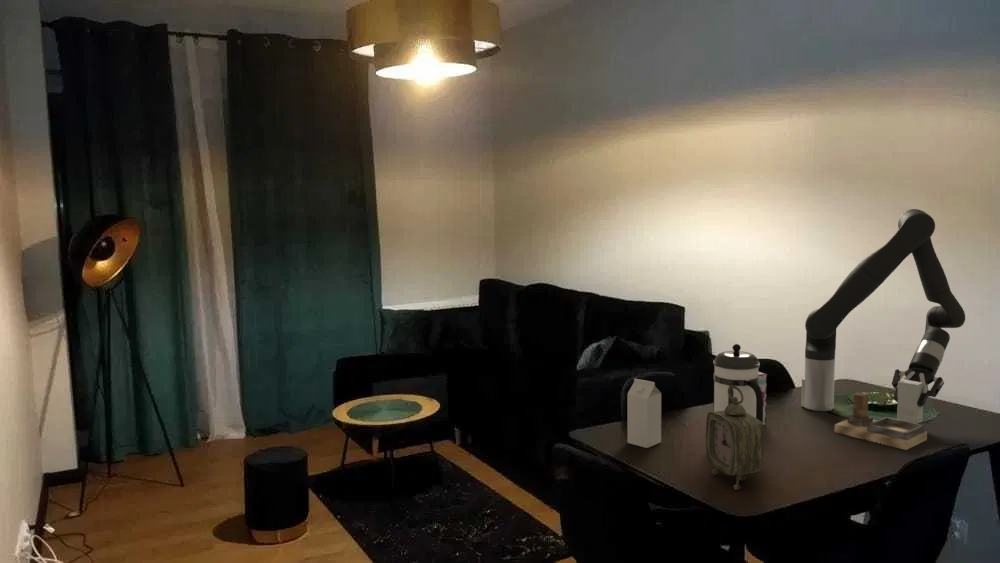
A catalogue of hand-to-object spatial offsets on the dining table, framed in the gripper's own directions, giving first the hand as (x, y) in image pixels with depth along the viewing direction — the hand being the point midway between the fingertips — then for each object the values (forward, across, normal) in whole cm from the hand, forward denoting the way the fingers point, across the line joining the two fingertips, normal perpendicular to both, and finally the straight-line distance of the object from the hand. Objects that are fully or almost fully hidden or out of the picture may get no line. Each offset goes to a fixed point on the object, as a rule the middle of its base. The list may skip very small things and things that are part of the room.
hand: (907, 402), depth 228 cm
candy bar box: (+25, -37, -12) cm, 46 cm away
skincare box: (+3, 0, +6) cm, 6 cm away
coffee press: (+41, -25, -28) cm, 56 cm away
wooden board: (+14, -3, -2) cm, 14 cm away
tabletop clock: (+57, -10, -45) cm, 74 cm away
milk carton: (+54, -45, -41) cm, 81 cm away
